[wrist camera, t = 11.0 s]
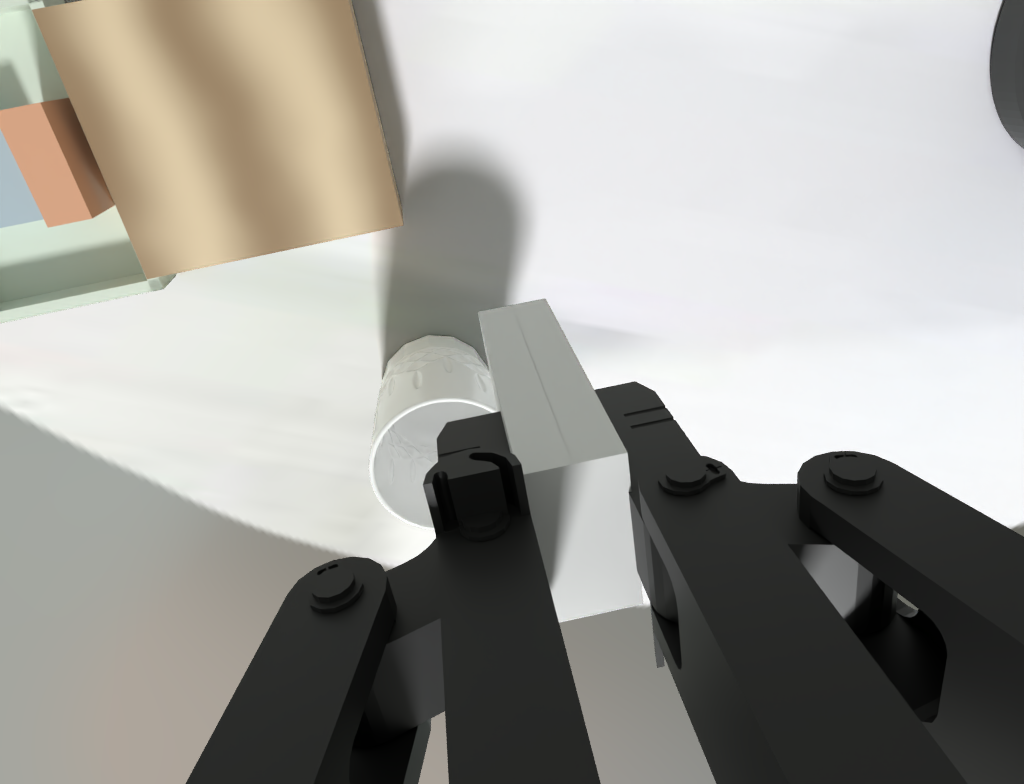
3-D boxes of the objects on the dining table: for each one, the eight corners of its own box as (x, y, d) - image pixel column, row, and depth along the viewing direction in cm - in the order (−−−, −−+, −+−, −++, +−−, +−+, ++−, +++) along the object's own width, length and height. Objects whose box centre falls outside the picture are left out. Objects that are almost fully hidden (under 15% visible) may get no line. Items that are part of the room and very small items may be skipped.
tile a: (39, 102, 30) (-8, 111, 30) (92, 218, 32) (47, 227, 32) (84, 95, 34) (43, 103, 34) (128, 197, 37) (89, 205, 37)
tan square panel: (342, -38, 34) (336, -47, 31) (401, 209, 40) (403, 225, 36) (69, 13, 33) (31, 9, 30) (169, 258, 39) (147, 279, 35)
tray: (59, -11, 33) (35, -15, 31) (176, 275, 39) (163, 289, 37) (-163, 30, 32) (-204, 29, 30) (-8, 313, 39) (-32, 330, 36)
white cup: (346, 370, 43) (335, 454, 34) (453, 300, 42) (470, 368, 34) (420, 458, 47) (427, 555, 38) (520, 396, 46) (552, 480, 37)
